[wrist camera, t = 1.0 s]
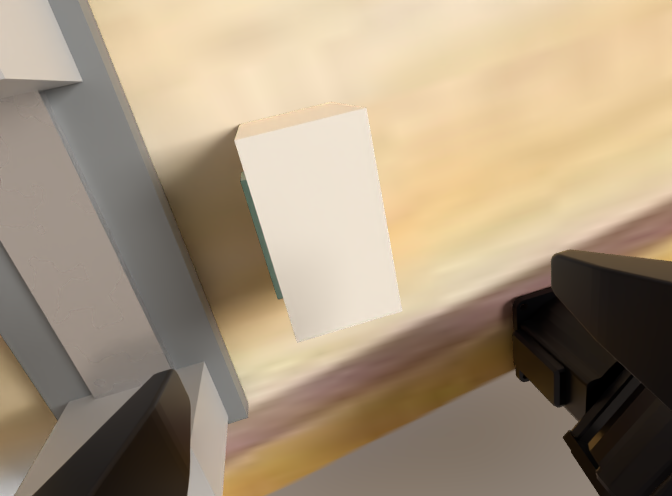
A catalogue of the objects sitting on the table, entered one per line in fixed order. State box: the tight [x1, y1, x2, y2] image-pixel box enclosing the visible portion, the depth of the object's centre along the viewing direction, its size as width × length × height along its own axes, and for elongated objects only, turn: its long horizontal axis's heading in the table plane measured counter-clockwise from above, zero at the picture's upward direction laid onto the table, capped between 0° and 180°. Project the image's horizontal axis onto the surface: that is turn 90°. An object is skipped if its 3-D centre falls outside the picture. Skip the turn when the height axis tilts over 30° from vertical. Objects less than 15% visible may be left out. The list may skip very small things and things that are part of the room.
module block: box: [234, 102, 402, 343], centre depth 18 cm, size 5×8×6 cm, turn 12°
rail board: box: [0, 0, 248, 496], centre depth 16 cm, size 9×23×7 cm, turn 12°
